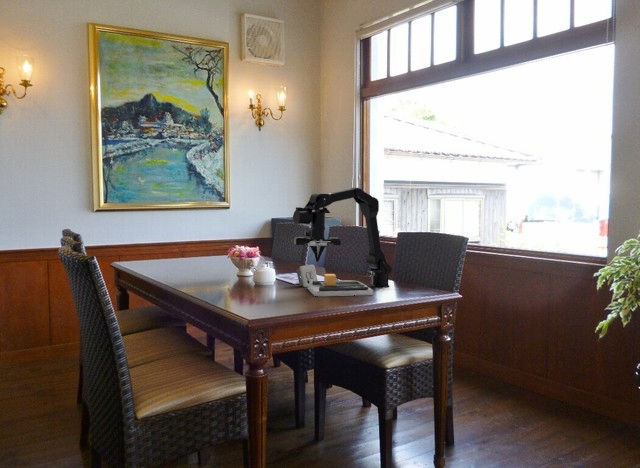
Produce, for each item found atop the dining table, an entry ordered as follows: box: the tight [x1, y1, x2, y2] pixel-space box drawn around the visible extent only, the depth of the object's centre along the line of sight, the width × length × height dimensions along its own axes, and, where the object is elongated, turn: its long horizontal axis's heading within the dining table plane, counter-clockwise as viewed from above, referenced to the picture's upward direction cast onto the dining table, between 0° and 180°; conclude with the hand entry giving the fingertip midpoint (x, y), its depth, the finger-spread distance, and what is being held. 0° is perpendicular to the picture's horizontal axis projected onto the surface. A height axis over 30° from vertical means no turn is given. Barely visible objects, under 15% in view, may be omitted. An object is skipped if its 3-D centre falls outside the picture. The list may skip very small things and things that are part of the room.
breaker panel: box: [307, 279, 374, 297], centre depth 234 cm, size 24×18×4 cm
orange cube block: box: [323, 273, 337, 285], centre depth 233 cm, size 4×5×5 cm
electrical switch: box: [295, 264, 319, 288], centre depth 249 cm, size 9×5×9 cm, turn 141°
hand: (316, 262), depth 231 cm, fingers closed
